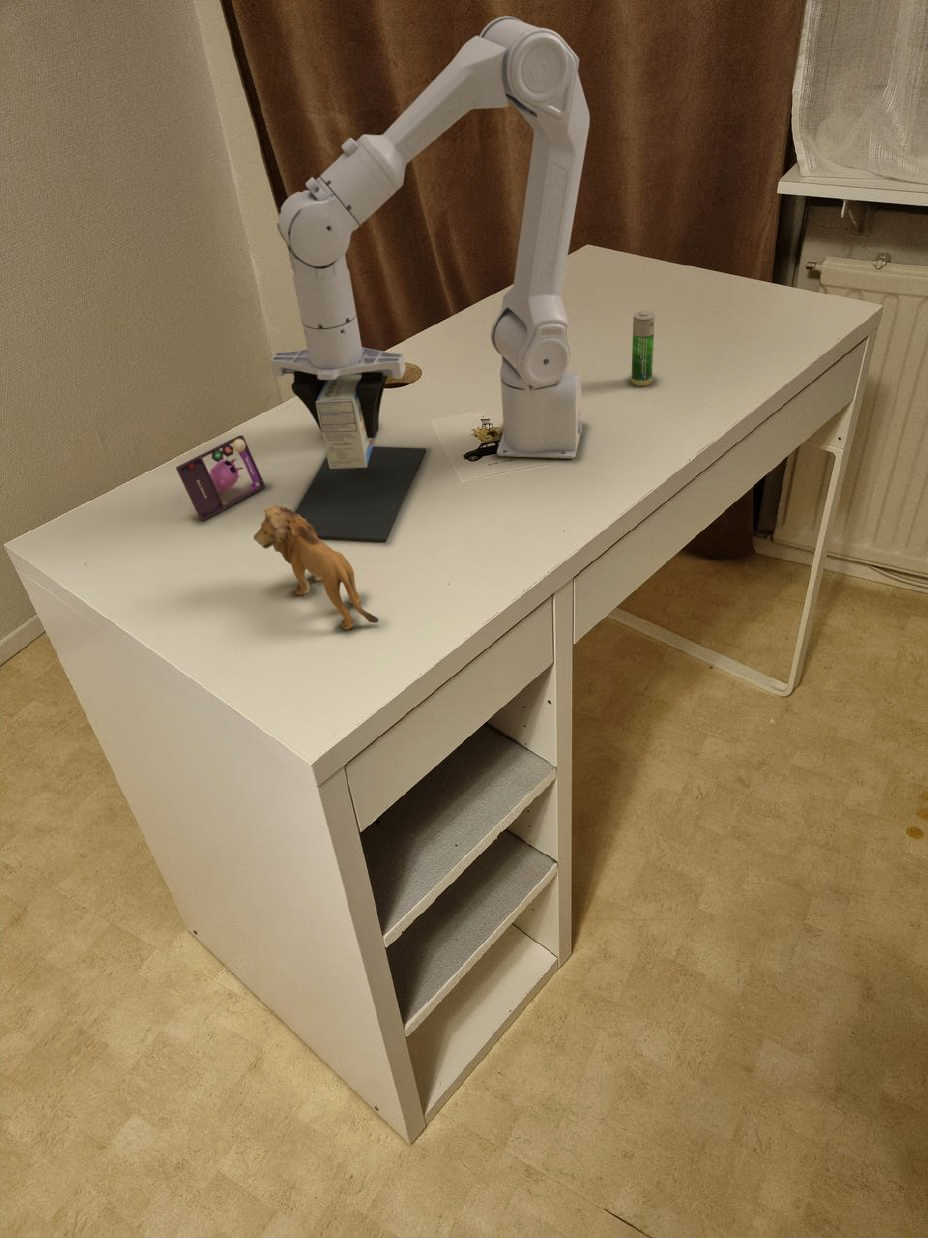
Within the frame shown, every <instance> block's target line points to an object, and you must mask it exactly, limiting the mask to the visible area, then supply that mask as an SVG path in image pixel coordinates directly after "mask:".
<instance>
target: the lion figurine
mask: <svg viewBox="0 0 928 1238" xmlns="http://www.w3.org/2000/svg"><path fill="white" fill-rule="evenodd" d="M263 511H264V520H263V521H262V522H261V524H260V529H259V530H258V531H257V532H256V533H255V534H254V535H253V540H254V541H255V542H257V544H258V545H259V546H261V547H262V548H263V549H265V550H267V549H269V548H271V547H272V546H273V549H274V551H275V552H277V553H280V554H281V556H282V557H283V558H284V561H285V562H287V563H288V564H290V565H291V569H292V572H293V574H294V577H295V578H296V580H297V582H298V584H299V585H297V587H296V588H295V594H296V595H299V596H302V595H306V594H307V593H308V592H310V584H309V581H308V579H307V578H306V570H307V571H308V572H309V573H310V574H311V576H312V579H313V580H314V581H316V582H318V581H322V585H323V588H324V590H325V593H326V595H327V597H328V599H329V600H330V602H331V604H332V605H333V606H334V607H335V609H336V610H337V611H338V612H339V614H340V616H341V617H342V618H343V619H342V621H341V622H340V623H341V624H340V625H341V628H342V629H343V630H350V629H351V628H353V627H354V625H355V623H354V619H353V617H352V614H351V612H350V611H349V609H348V608H347V606H345V604H344V602H343V599H342V597H341V584H343V586H344V588H345V592H346V593H347V596H348V600H349V601H348V602H349V603H350V604H352V605H353V607H354V608H355V609H356V611H357V612H358V614H360V615H361V616H362V617H364V619H366V620H367V621H368V622H369V623H374V624H377V623H378V622H379V621H380V620H379V618H378V617H377V616H375V615H373V614H372V613H370V612H368V611H365V610H364V609H363V608H362V607H361V605H360V603H361V600H362V598H361V596H360V595H359V593H358V591H357V586H356V581H355V572H354V569H353V567H352V565H351V563H350V562H349V560H348V559H347V558H346V557H345V556H344V554H342V553H341V552H339V551H336V550H334V549H333V548H331V547H330V546H329V545H327V544H326V543H325V542H324V541H323V540H321V539H319V538H318V537H317V534H316V531H315V530H314V528H313V526H311V525H310V524H309V523H307V521H306V520H305V519H303V518H302V517H301V516H300V515H299V514H296V513H295V511H294V510H293V509H291V508H288V507H286V506H278V505H274V506H271V507H267V508H265V509H263Z"/></svg>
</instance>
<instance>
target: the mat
mask: <svg viewBox="0 0 928 1238" xmlns="http://www.w3.org/2000/svg"><path fill="white" fill-rule="evenodd" d="M426 452H427V449H426V447H403V446H402V447H400V446H399V447H398V446H373V448H372V452H371V455H370V458H369V462H368V465H367V468H349V469H330V468H329V464H328V459H327V456H326V458H324V461H323V463H322V464H321V466H320V467H319V469H318V470H317V472H316V474H315V476H314V478H313V480H312V481H311V483H310V484H309V486H308V488H307V490H306V491H305V493H304V495H303V497H302V499H301V500H300V502H299V504H298V505H297V507H296V509H295V511H294V512H295V513H296V514H299V515H300V516H301V517H302V518H303V519H305V520H306V521H307V523H309V524H310V525H311V526H313V528H314V530H315V531H316V534H317V537H318V538H319V539H320V540H321V539H322V540H341V541H356V542H357V541H358V542H377V543H378V542H379V543H386V542H387V540H388V538H389V536H390V533H391V531H392V528H393V526H394V524H395V522H396V520H397V517H398V516H399V513H400V511H401V508H402V506H403V503H404V502H405V499H406V497H407V495H408V492H409V490H410V488H411V486H412V483H413V482H414V479H415V477H416V474H417V472H418V470H419V467H420V465H421V463H422V461H423V459H424V456H425V454H426Z"/></svg>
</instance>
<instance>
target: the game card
mask: <svg viewBox="0 0 928 1238" xmlns="http://www.w3.org/2000/svg"><path fill="white" fill-rule="evenodd" d="M234 451H235V452H237V453H238V455H239V456H240V458H241V460H242V463H243V464H244V466H245V469H246V470H247V472H248V475H249V478H250V479H251V482H252V483H250V484H249V485H250V489H251V490H249V491H247V492H246V493H244V494H242V495H240V496H238V497H235V498H234V499H232V500H230V501H229V502H227V503H225V504H224V502H223V500H222V498H221V496H220V493H223V492H226V491H228V490H230V489H231V488H233V487H234V486H235V485H236V483H237V482H238V480H239V479H240V477H242V475H240V474H239V471H241V470H244V468H243V467H242V466H241V467H237V465H235V464H234V463H235V462H236V460H237V458H234V459H233V458H232V459H231V460H229V457H230V456H233V455H234ZM209 455H211V459H212V460H213V461H215V462H216V463H215V464H214V466H213V467H212V468H210V472H209V470H208V468H207V466H206V463H205V461H204V459H203V458H205V457H207V456H209ZM224 456H225V457H226V459H225V458H224ZM175 470H176V472H177V474H178V476H179V478H180V480H181V482H182V484H183V487H184V489H185V490H186V491H185V492H186V493H187V495H188V497H189V499H190V501H191V503H192V505H193V507H194V509H195V511H196V513H197V515H198V517H199V520H200V521H206V520H208V519H209V518H211V517H213V516H215V515H217V514H219V513H221V512H222V511H224V510H226V509H228V508H230V507H232V506H234V505H235V504H238V503H239V502H241V501H243V500H245V499H247V498H249V497H250V496H253V495H254V494H256V493H257V492H259V491H261V490H263V489H265V488H266V484H265V482H264V480H263V477H262V475H261V473H260V471H259V468H258V466H257V464H256V462H255V459H254V457H253V455H252V453H251V451H250V447H249V446H248V444H247V442H246V438H245V436H244V435H237V436H235V437H233V438H232V439H229V440H227V441H226V442H224V443H221V444H219V445H217V446H215V447H213V448H211V449H209V450H207V451H205V452H204V453H202V454H200V455H197V456H195V457H193V458H191V459H189V460H187V461H185V462H183V463H182V464H179V465H177V466H176V467H175ZM257 483H258V486H257Z"/></svg>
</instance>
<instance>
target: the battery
mask: <svg viewBox="0 0 928 1238" xmlns="http://www.w3.org/2000/svg"><path fill="white" fill-rule="evenodd" d="M632 319H633V321H632V325H633V326H632V352H631V353H632V354H631V358H632V359H631V384H632V385H634V386H637V387H647V386H649V385H650V384H652V382H653V366H654V365H653V364H654V363H653V362H654V343H655V342H654V341H655V340H654V339H655V323H656V321H655V320H656V315H655V313H654V312H653V311H650V310H639V311H636V312H635V313H634V314H633V318H632Z"/></svg>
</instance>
